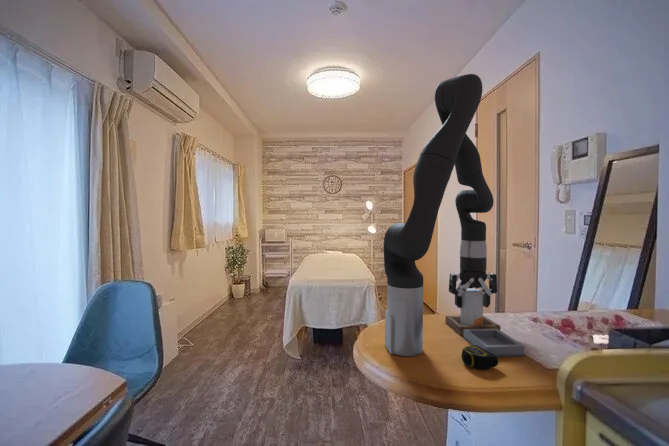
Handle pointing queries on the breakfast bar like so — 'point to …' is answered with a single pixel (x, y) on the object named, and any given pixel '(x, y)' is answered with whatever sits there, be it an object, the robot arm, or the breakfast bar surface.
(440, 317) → the breakfast bar surface
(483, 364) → the tape measure
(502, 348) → the tray
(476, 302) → the skincare box
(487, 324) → the brown rectangular frame
